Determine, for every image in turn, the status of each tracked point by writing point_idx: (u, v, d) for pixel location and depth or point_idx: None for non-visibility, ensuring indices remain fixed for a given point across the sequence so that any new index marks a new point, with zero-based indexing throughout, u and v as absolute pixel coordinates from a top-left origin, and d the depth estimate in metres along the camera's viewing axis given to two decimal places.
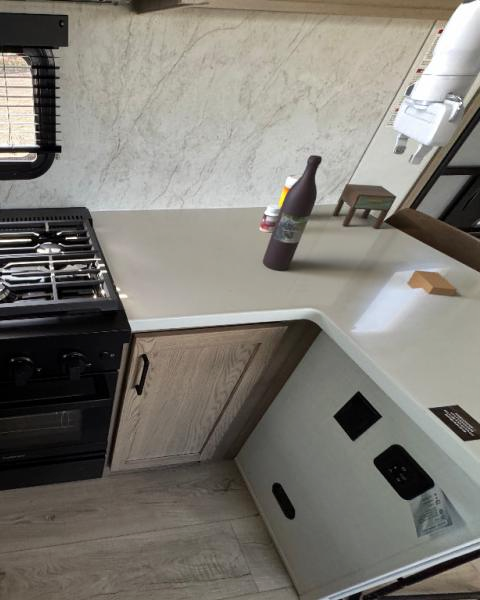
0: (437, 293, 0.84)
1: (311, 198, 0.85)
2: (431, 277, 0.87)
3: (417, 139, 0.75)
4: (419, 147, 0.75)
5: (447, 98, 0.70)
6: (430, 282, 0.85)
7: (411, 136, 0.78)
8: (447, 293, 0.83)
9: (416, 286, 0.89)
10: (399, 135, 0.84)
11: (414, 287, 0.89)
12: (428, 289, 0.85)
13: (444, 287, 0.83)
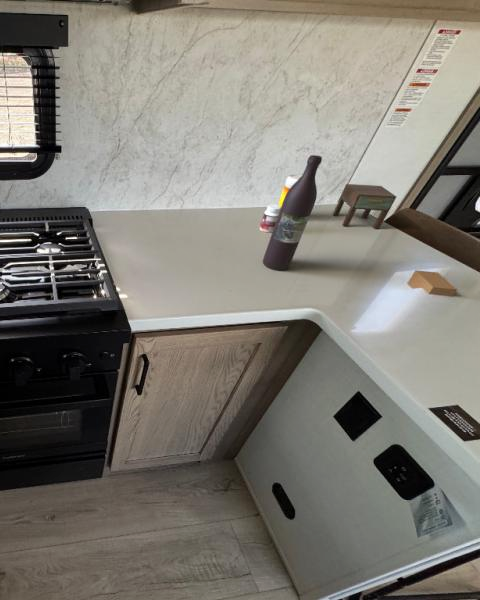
0: (437, 293, 0.84)
1: (311, 198, 0.85)
2: (431, 277, 0.87)
3: None
4: None
5: None
6: (430, 282, 0.85)
7: None
8: (447, 293, 0.83)
9: (416, 286, 0.89)
10: None
11: (414, 287, 0.89)
12: (428, 289, 0.85)
13: (444, 287, 0.83)
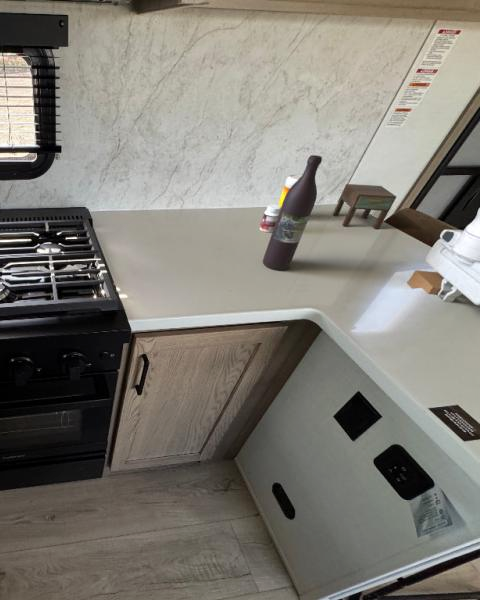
0: (437, 293, 0.84)
1: (311, 198, 0.85)
2: (430, 277, 0.87)
3: (462, 292, 0.76)
4: (453, 290, 0.80)
5: None
6: (430, 282, 0.85)
7: (453, 284, 0.79)
8: None
9: (416, 286, 0.89)
10: (445, 281, 0.82)
11: (413, 287, 0.89)
12: (428, 289, 0.85)
13: None
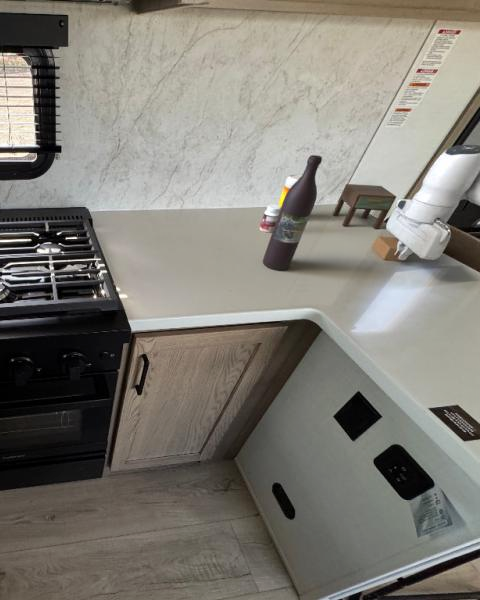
0: (394, 253, 1.00)
1: (311, 198, 0.85)
2: (390, 241, 1.03)
3: (412, 249, 0.92)
4: (405, 248, 0.96)
5: (436, 222, 0.87)
6: (388, 244, 1.01)
7: (405, 244, 0.95)
8: None
9: (378, 249, 1.05)
10: (400, 242, 0.98)
11: (376, 250, 1.05)
12: (386, 250, 1.01)
13: None
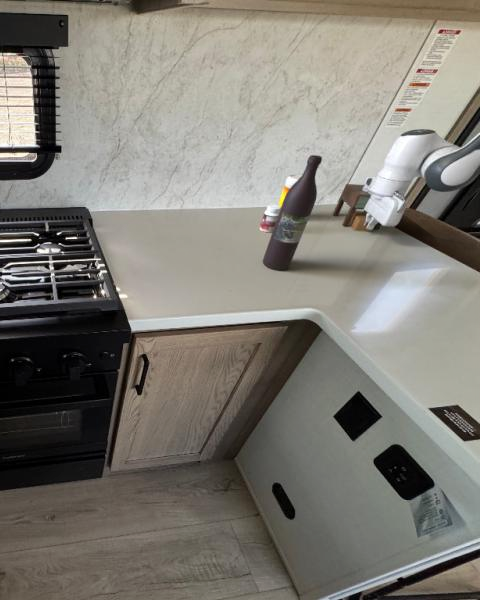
0: (363, 224, 1.17)
1: (311, 198, 0.85)
2: (360, 214, 1.19)
3: (376, 219, 1.09)
4: (372, 219, 1.12)
5: (394, 195, 1.04)
6: (359, 217, 1.18)
7: (372, 215, 1.11)
8: None
9: (351, 222, 1.21)
10: (368, 214, 1.14)
11: (349, 223, 1.22)
12: (357, 222, 1.17)
13: None
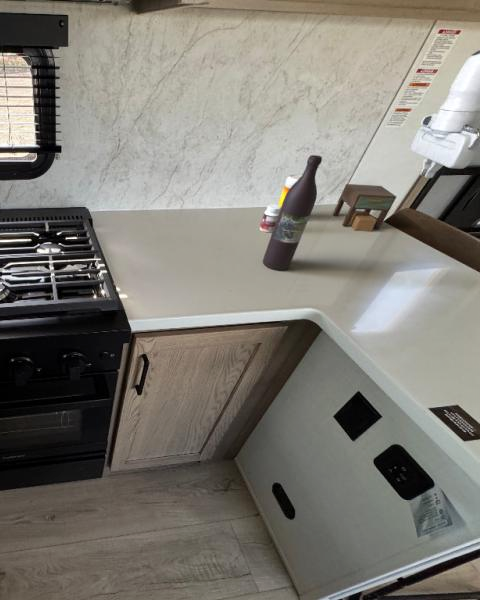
0: (363, 224, 1.17)
1: (311, 198, 0.85)
2: (360, 214, 1.19)
3: (439, 162, 0.91)
4: (432, 164, 0.94)
5: (464, 129, 0.86)
6: (359, 216, 1.18)
7: (432, 159, 0.94)
8: (370, 224, 1.16)
9: (351, 221, 1.21)
10: (425, 160, 0.97)
11: None
12: (357, 222, 1.17)
13: (367, 219, 1.16)
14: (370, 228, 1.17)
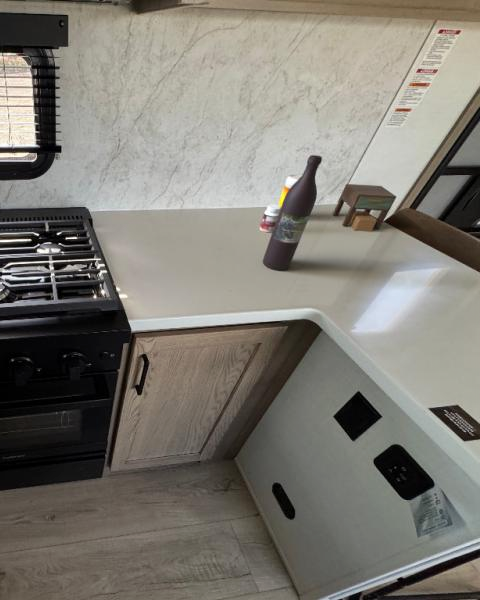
0: (363, 224, 1.17)
1: (311, 198, 0.85)
2: (360, 214, 1.19)
3: None
4: None
5: None
6: (359, 216, 1.18)
7: None
8: (370, 224, 1.16)
9: (351, 221, 1.21)
10: None
11: None
12: (357, 222, 1.17)
13: (367, 219, 1.16)
14: (370, 228, 1.17)
